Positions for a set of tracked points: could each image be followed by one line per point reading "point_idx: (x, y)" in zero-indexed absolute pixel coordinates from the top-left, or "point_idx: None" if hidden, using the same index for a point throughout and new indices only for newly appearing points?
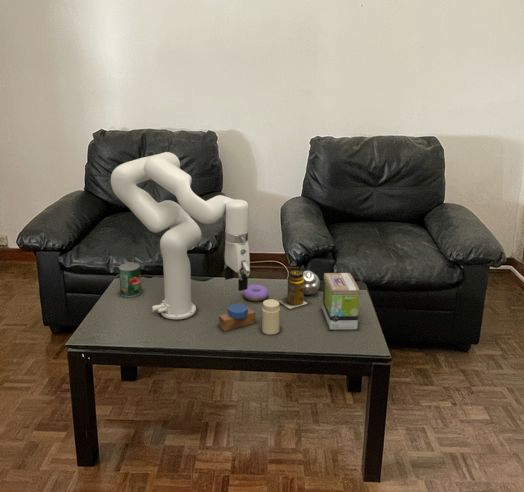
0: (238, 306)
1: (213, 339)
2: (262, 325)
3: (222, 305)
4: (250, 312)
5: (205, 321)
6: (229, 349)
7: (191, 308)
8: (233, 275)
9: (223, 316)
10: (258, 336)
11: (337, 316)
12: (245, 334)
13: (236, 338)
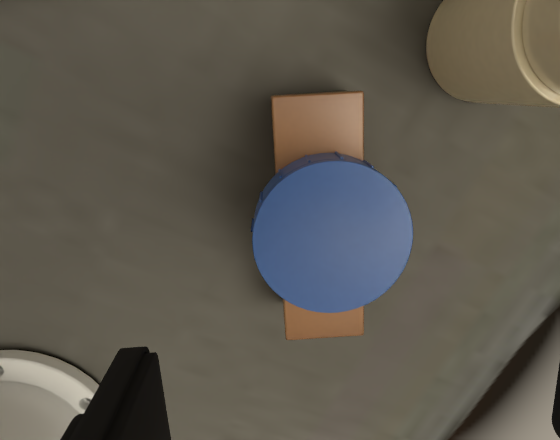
0: (311, 225)
1: (392, 373)
2: (491, 103)
3: (28, 186)
4: (350, 128)
5: (195, 347)
6: (520, 341)
7: (40, 387)
8: (146, 381)
9: (309, 321)
10: (503, 152)
11: None
12: (440, 210)
13: (449, 271)
